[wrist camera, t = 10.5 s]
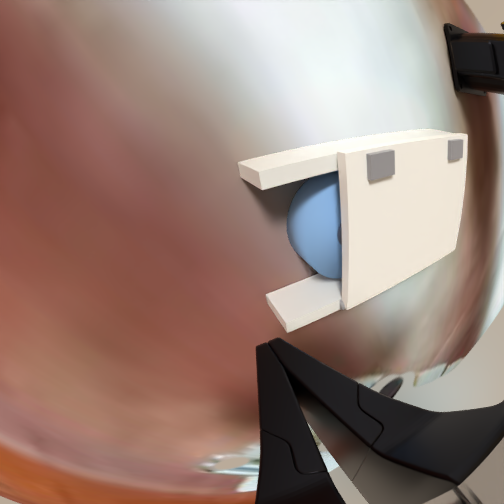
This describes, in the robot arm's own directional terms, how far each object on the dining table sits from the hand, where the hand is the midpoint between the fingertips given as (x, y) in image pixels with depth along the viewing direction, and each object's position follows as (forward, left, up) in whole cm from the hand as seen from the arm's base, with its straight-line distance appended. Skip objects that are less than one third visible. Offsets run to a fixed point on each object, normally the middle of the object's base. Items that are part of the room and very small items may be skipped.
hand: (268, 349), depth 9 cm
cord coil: (-7, 0, -8) cm, 10 cm away
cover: (-11, 0, -4) cm, 12 cm away
